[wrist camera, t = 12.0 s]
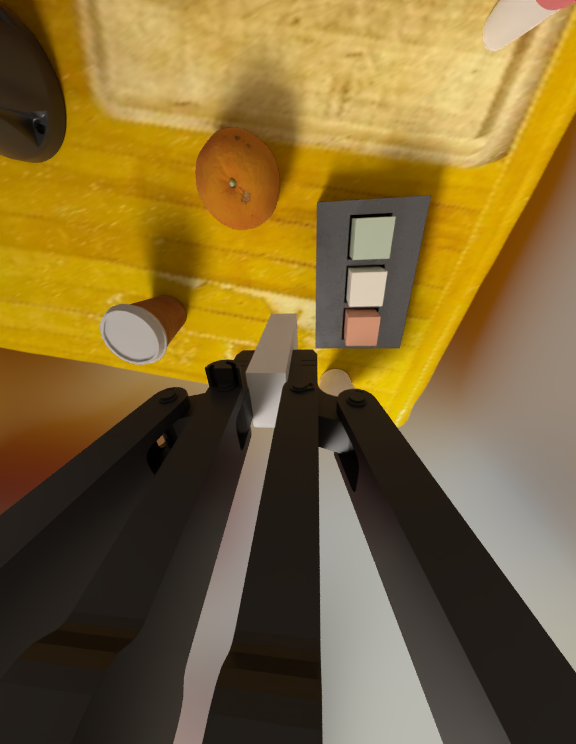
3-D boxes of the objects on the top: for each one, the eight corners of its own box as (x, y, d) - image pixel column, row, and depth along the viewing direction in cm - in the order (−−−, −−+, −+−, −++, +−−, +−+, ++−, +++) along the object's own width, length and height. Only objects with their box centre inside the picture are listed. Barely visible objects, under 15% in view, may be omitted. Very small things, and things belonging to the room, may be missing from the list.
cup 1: (359, 355, 48) (372, 398, 37) (363, 398, 53) (376, 448, 42) (304, 363, 50) (301, 406, 39) (313, 404, 55) (313, 453, 44)
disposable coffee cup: (168, 275, 43) (123, 293, 33) (205, 320, 47) (175, 349, 37) (133, 303, 47) (83, 328, 37) (171, 344, 51) (135, 376, 40)
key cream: (347, 266, 38) (351, 272, 34) (379, 265, 38) (387, 271, 33) (345, 297, 40) (349, 306, 36) (375, 296, 40) (382, 306, 36)
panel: (316, 203, 36) (317, 202, 33) (419, 197, 35) (430, 195, 31) (315, 338, 47) (315, 348, 44) (393, 338, 46) (399, 348, 42)
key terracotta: (344, 307, 41) (348, 317, 37) (373, 306, 41) (380, 317, 37) (343, 333, 44) (346, 345, 39) (370, 332, 43) (376, 345, 39)
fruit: (248, 244, 40) (235, 251, 33) (195, 184, 36) (167, 177, 30) (298, 189, 36) (294, 183, 29) (243, 114, 32) (223, 87, 25)
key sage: (351, 218, 35) (356, 218, 31) (385, 216, 34) (395, 216, 30) (348, 254, 37) (352, 259, 33) (380, 253, 37) (389, 258, 33)
